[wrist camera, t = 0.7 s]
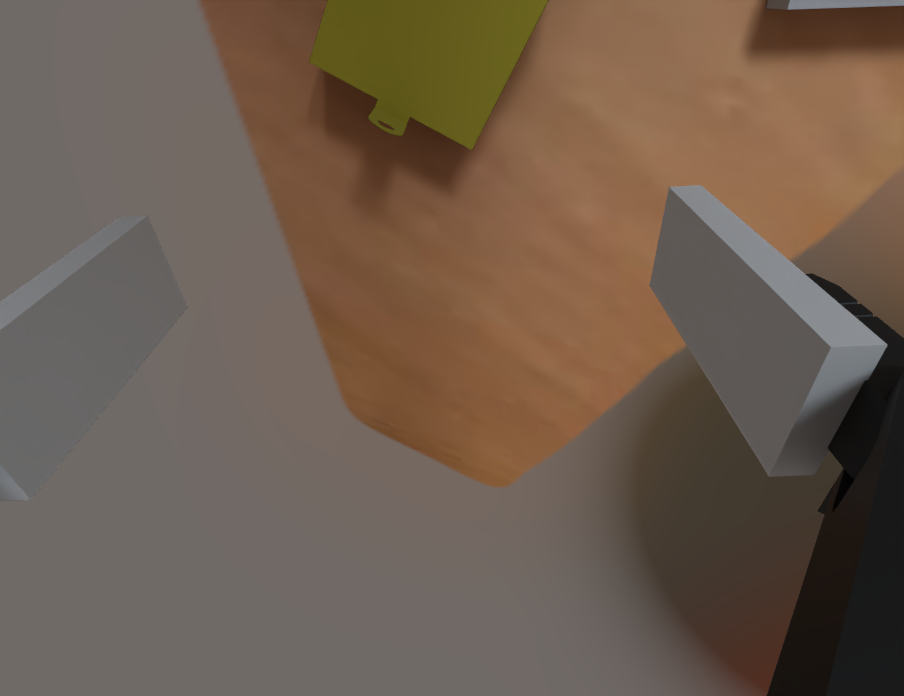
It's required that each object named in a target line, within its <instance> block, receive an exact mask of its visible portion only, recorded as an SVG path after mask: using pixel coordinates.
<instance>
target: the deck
mask: <svg viewBox="0 0 904 696" xmlns="http://www.w3.org/2000/svg"><path fill="white" fill-rule="evenodd" d="M876 6H904V0H768V2H767V6H766V9H784V10H792V9H820V8H848V7H876Z"/></svg>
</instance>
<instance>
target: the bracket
mask: <svg viewBox="0 0 904 696" xmlns="http://www.w3.org/2000/svg"><path fill="white" fill-rule="evenodd" d="M547 2H548V0H328V1H327V4H326V7H325V11H324V14H323V17H322V21H321V24H320V27H319V31H318V34H317V37H316V40H315V44H314V47H313V50H312V54H311V57H310V60H309V63H311V64H313V65H315V66H317V67H319V68H320V69H322V70H324V71H326V72H328V73H330V74H332V75H333V76H335V77H337V78H339V79H341V80H343V81H345V82H346V83H348V84H350V85H352V86H354V87H356V88H358V89H359V90H361V91H363V92H365V93H367V94H369V95H371V96H372V97H374V98H376V99H378V100H377V103H376V105H375V108H374V109H373V111H372V112H371V113H370V115H369V117H368V119H369V120H370V121H371V122H372V123H373V124H374V125H376V126H377V127H379V128H380V129H382V130H384V131H386V132H388V133H391V134H393V135H396V136H403V134H404V131H405V128H406V125H407V123H408V120H409V118H410V117H411V118H413V119H415V120H417V121H419V122H421V123H422V124H424V125H426V126H428V127H430V128H432V129H434V130H435V131H437V132H439V133H441V134H443V135H445V136H447V137H448V138H450V139H452V140H454V141H456V142H458V143H460V144H461V145H463V146H465V147H467V148H469V149H471V150H472V149H473V147H474V145H475V143H476V141H477V139H478V137H479V135H480V133H481V131H482V129H483V127H484V126H485V124H486V122H487V120H488V118H489V116H490V114H491V112H492V110H493V108H494V106H495V104H496V102H497V100H498V98H499V96H500V94H501V92H502V90H503V88H504V86H505V84H506V82H507V81H508V79H509V77H510V75H511V73H512V71H513V69H514V67H515V65H516V63H517V61H518V59H519V57H520V55H521V53H522V51H523V49H524V47H525V45H526V43H527V41H528V39H529V38H530V36H531V34H532V32H533V30H534V28H535V26H536V24H537V22H538V20H539V18H540V16H541V14H542V12H543V10H544V8H545V6H546V4H547ZM378 121H380V122H383V123H386V124H388V125H389V126H391V127H392V128H393V129H394V130H391V129H388V128H386V127H384V126H382V125H381V124H380V123H379V122H378Z"/></svg>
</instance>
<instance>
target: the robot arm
mask: <svg viewBox="0 0 904 696" xmlns="http://www.w3.org/2000/svg"><path fill="white" fill-rule="evenodd" d="M650 287H651V289H652V290H653V292H654V293H655V295H656V297H657V298H658V300H659V301H660V303H661V305H662V306H663V308H664V309H665V311H666V313H667V314H668V316H669V317H670V319H671V321H672V322H673V324H674V325H675V327H676V329H677V330H678V332H679V333H680V335H681V337H682V338H683V340H684V341H685V343H686V345H687V346H688V348H689V349H690V351H691V352H692V354H693V356H694V357H695V359H696V360H697V362H698V364H699V365H700V367H701V368H702V370H703V371H704V373H705V375H706V376H707V378H708V380H709V381H710V383H711V384H712V386H713V388H714V389H715V391H716V392H717V394H718V395H719V397H720V399H721V400H722V402H723V404H724V405H725V407H726V408H727V410H728V412H729V413H730V415H731V416H732V418H733V420H734V421H735V423H736V424H737V426H738V428H739V429H740V431H741V432H742V434H743V436H744V437H745V439H746V440H747V442H748V444H749V445H750V447H751V448H752V450H753V452H754V453H755V455H756V456H757V458H758V459H759V461H760V463H761V464H762V466H763V468H764V469H765V471H766V472H767V474H768V475H769V476H796V475H815V474H816V472H817V470H818V468H819V466H820V465H821V463H822V461H823V459H824V458H825V456H826V454H827V452H828V450H830V451H831V453H832V454H833V455H834V456H835V458H836V459H837V460H838V461H839V463H840V464H841V465H842V467H843V470H842V472H841V473H840V475H839V476H838V478H837V480H836V482H835V483H834V485H833V487H832V488H831V490H830V491H829V493H828V495H827V496H826V498H825V500H824V501H823V503H822V505H821V506H820V508H819V510H818V511H819V512H821V513H823V514H825V515H824V518H823V521H822V524H821V528H820V531H819V534H818V537H817V540H816V543H815V547H814V549H813V553H812V556H811V559H810V562H809V565H808V568H807V572H806V574H805V578H804V581H803V584H802V587H801V590H800V594H799V597H798V600H797V603H796V606H795V609H794V612H793V615H792V618H791V622H790V625H789V628H788V631H787V634H786V637H785V641H784V644H783V647H782V650H781V653H780V656H779V659H778V663H777V665H776V669H775V672H774V675H773V678H772V681H771V684H770V687H769V691H768V694H767V696H904V338H903V337H901V336H900V335H899V334H897V333H896V332H895V331H894V330H893V329H891V328H890V327H889V326H888V325H887V324H885V323H884V322H883V321H882V320H880V319H879V318H878V317H873V314H872V312H870V311H869V310H868V309H867V308H866V307H864V306H863V305H862V304H857V300H856V299H854V298H853V297H852V296H851V295H850V294H848V293H847V292H846V291H844V290H843V289H842V288H841V287H840V286H838V285H836V284H834V283H832V282H829V281H827V280H825V279H823V278H821V277H819V276H816V275H814V274H804V273H803V272H802V271H801V270H799V269H798V268H797V267H796V266H795V265H794V264H793V263H791V262H790V261H789V260H788V259H787V258H785V257H784V256H783V255H782V254H781V253H780V252H778V251H777V250H776V249H775V248H774V247H773V246H771V245H770V244H769V243H768V242H767V241H766V240H764V239H763V238H762V237H761V236H760V235H759V234H757V233H756V232H755V231H754V230H753V229H752V228H750V227H749V226H748V225H747V224H746V223H744V222H743V221H742V220H741V219H740V218H739V217H737V216H736V215H735V214H734V213H733V212H732V211H730V210H729V209H728V208H727V207H726V206H725V205H723V204H722V203H721V202H720V201H719V200H718V199H716V198H715V197H714V196H713V195H712V194H711V193H709V192H708V191H707V190H706V189H705V188H703V187H702V186H701V185H697V186H679V187H669V190H668V195H667V200H666V205H665V211H664V216H663V221H662V226H661V231H660V236H659V241H658V246H657V251H656V256H655V261H654V266H653V271H652V276H651V281H650ZM186 309H187V305H186V303H185V301H184V298H183V296H182V294H181V292H180V289H179V287H178V285H177V282H176V280H175V278H174V275H173V273H172V271H171V268H170V266H169V264H168V262H167V259H166V257H165V255H164V252H163V250H162V248H161V245H160V243H159V241H158V238H157V236H156V234H155V232H154V229H153V227H152V224H151V222H150V220H149V218H148V216H131V217H118V218H117V219H115V220H114V221H112V222H111V223H110V224H108V225H107V226H105V227H104V228H103V229H101V230H100V231H98V232H97V233H96V234H94V235H93V236H91V237H90V238H89V239H87V240H86V241H85V242H83V243H82V244H80V245H79V246H77V247H76V248H75V249H73V250H72V251H71V252H69V253H68V254H66V255H65V256H63V257H62V258H61V259H59V260H58V261H57V262H55V263H54V264H52V265H51V266H49V267H48V268H47V269H45V270H44V271H42V272H41V273H40V274H38V275H37V276H35V277H34V278H33V279H31V280H30V281H28V282H27V283H26V284H24V285H23V286H22V287H20V288H19V289H18V290H16V291H14V292H13V293H12V294H10V295H9V296H7V297H6V298H5V299H3V300H2V301H0V501H21V500H32V498H33V497H34V496H35V495H36V494H37V492H38V491H39V490H40V489H41V487H42V486H43V485H44V484H45V483H46V481H47V480H48V479H49V478H50V476H51V475H52V474H53V473H54V471H55V470H56V469H57V467H58V466H59V465H60V464H61V463H62V462H63V460H64V459H65V458H66V457H67V455H68V454H69V453H70V452H71V450H72V449H73V448H74V447H75V445H76V444H77V443H78V442H79V441H80V439H81V438H82V437H83V436H84V434H85V433H86V432H87V431H88V429H89V428H90V427H91V426H92V425H93V423H94V422H95V421H96V420H97V418H98V417H99V416H100V415H101V413H102V412H103V411H104V410H105V408H106V407H107V406H108V405H109V404H110V402H111V401H112V400H113V398H114V397H115V396H116V395H117V394H118V392H119V391H120V390H121V389H122V388H123V386H124V385H125V384H126V383H127V381H128V380H129V379H130V378H131V376H132V375H133V374H134V373H135V371H136V370H137V369H138V367H140V365H141V364H142V363H143V362H144V360H145V359H146V358H147V357H148V355H149V354H150V353H151V352H152V350H153V349H154V348H155V347H156V346H157V344H158V343H159V342H160V341H161V339H162V338H163V337H164V336H165V334H166V333H167V332H168V331H169V329H170V328H171V327H172V326H173V324H174V323H175V322H176V321H177V320H178V318H179V317H180V316H181V315H182V313H183V312H184V311H185V310H186Z"/></svg>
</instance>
